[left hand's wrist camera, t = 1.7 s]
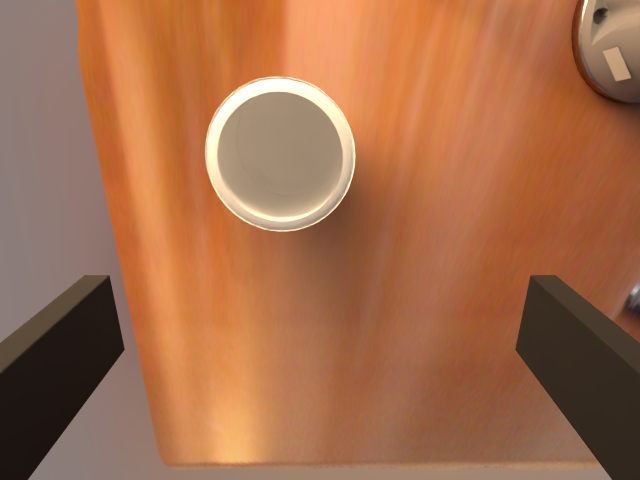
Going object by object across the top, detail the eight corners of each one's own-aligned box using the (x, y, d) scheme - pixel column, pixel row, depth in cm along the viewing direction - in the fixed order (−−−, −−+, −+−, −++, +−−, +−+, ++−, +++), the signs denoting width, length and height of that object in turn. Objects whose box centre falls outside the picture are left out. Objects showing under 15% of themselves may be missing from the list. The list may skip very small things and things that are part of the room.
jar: (243, 75, 39) (202, 68, 25) (348, 84, 40) (365, 83, 26) (241, 182, 43) (205, 227, 29) (337, 189, 43) (347, 238, 29)
